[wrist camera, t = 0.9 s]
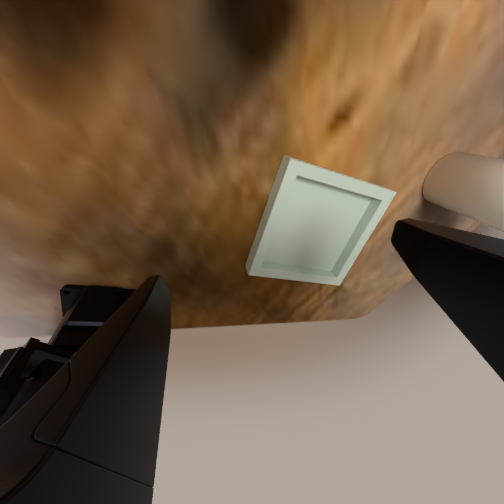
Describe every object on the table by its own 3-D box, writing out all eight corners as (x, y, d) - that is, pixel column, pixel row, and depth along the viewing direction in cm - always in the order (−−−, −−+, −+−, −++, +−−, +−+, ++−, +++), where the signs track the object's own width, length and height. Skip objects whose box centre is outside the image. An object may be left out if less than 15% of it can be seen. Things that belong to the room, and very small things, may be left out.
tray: (332, 276, 27) (339, 285, 26) (245, 265, 23) (248, 275, 22) (384, 187, 22) (396, 192, 21) (283, 154, 18) (290, 158, 17)
